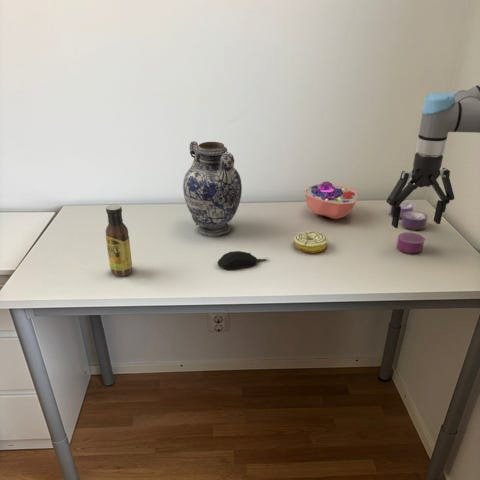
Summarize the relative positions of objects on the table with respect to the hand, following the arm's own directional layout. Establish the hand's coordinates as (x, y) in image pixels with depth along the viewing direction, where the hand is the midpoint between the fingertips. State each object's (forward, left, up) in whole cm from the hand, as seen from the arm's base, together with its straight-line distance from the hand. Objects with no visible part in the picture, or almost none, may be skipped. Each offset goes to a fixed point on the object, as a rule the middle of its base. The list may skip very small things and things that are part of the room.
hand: (415, 224), depth 155 cm
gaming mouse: (+53, 0, -9) cm, 54 cm away
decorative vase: (+58, -25, -9) cm, 64 cm away
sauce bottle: (+88, -1, -9) cm, 89 cm away
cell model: (+16, -30, -9) cm, 35 cm away
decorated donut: (+30, -7, -9) cm, 32 cm away
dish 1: (-9, -26, -8) cm, 29 cm away
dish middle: (-9, -16, -8) cm, 20 cm away
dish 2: (0, 0, -8) cm, 8 cm away
